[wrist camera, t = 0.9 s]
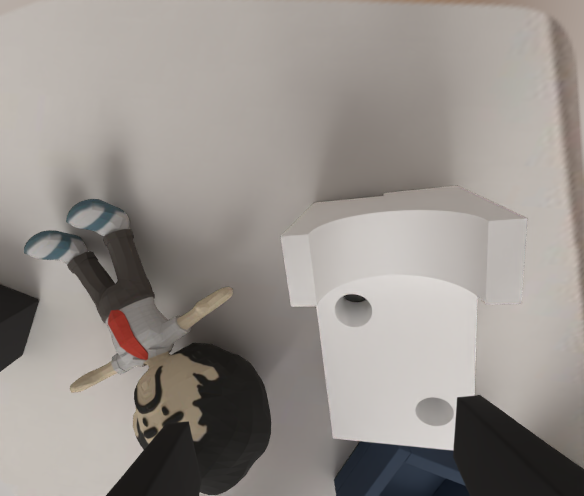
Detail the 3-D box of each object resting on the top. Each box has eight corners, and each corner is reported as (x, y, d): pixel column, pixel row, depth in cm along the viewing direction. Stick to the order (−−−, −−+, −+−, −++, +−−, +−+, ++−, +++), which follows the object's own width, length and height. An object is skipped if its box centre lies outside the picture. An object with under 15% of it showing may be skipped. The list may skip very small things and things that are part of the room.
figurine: (132, 156, 13) (318, 478, 12) (201, 187, 20) (327, 399, 18) (-29, 275, 15) (119, 580, 13) (85, 269, 21) (193, 473, 20)
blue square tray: (429, 514, 23) (449, 564, 20) (333, 479, 22) (340, 528, 19) (483, 447, 21) (514, 492, 19) (383, 407, 20) (399, 448, 17)
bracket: (316, 199, 17) (280, 236, 10) (457, 185, 16) (527, 217, 9) (338, 392, 21) (322, 516, 14) (455, 400, 19) (503, 546, 12)
